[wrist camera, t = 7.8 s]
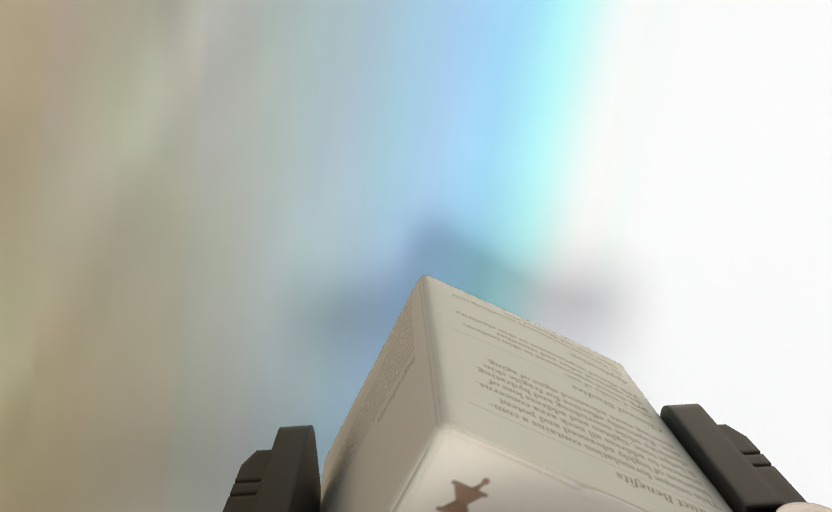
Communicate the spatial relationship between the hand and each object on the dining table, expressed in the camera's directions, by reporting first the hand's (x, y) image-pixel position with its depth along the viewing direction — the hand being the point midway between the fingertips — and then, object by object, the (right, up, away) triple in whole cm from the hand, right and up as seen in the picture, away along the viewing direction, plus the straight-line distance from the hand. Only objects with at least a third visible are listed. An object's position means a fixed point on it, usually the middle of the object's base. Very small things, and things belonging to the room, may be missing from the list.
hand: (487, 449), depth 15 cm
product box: (0, 0, +3) cm, 3 cm away
